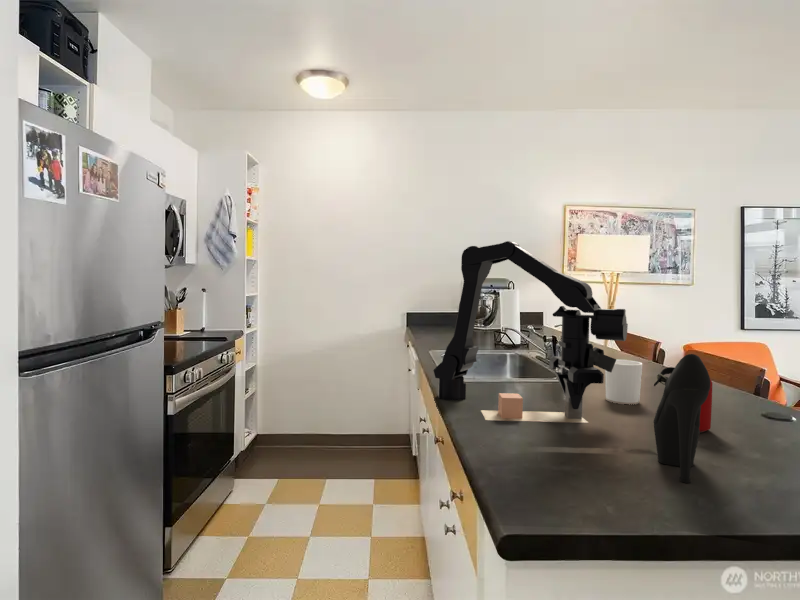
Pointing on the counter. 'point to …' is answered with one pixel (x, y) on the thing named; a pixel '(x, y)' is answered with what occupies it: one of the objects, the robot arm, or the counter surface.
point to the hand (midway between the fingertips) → (573, 407)
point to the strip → (544, 414)
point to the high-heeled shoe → (681, 413)
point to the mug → (624, 382)
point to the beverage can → (706, 412)
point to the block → (510, 405)
